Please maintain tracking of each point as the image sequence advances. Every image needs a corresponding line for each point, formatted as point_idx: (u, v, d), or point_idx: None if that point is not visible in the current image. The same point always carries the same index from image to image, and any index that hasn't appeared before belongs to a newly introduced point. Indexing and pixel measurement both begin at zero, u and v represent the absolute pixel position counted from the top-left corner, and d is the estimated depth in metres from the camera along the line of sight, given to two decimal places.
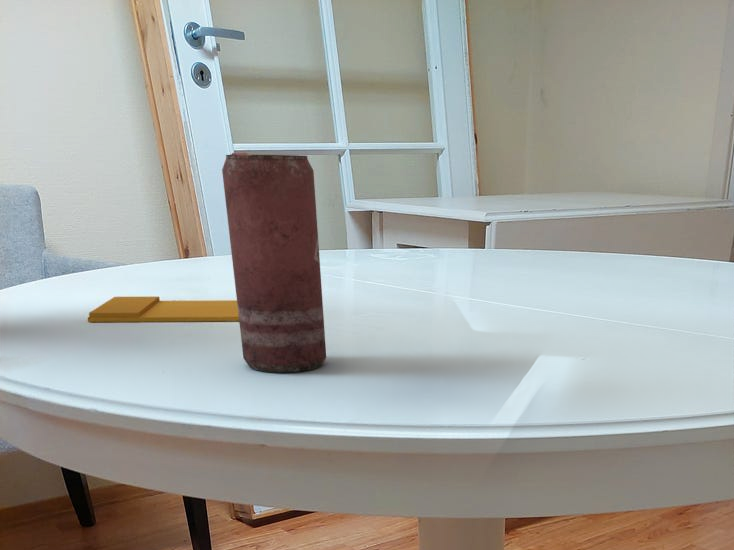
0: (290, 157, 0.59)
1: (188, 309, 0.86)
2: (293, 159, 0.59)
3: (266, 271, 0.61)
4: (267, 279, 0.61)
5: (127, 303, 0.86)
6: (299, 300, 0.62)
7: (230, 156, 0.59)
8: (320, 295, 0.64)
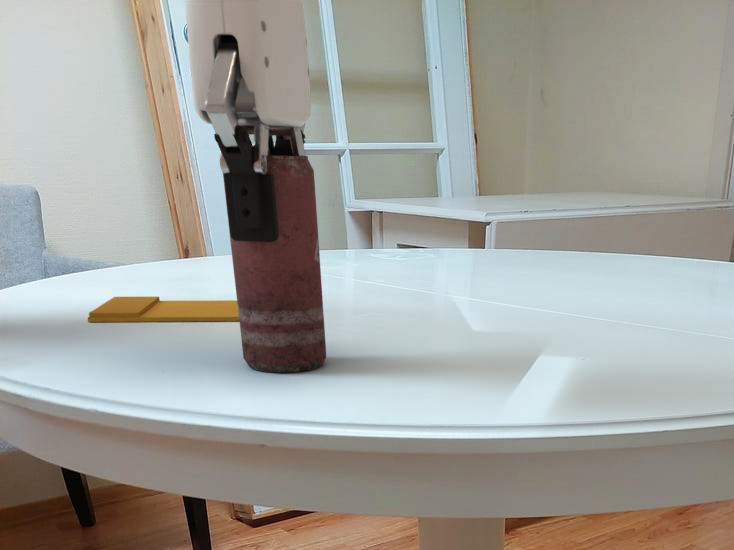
0: (290, 157, 0.59)
1: (188, 309, 0.86)
2: (294, 159, 0.59)
3: (266, 271, 0.61)
4: (267, 279, 0.61)
5: (127, 303, 0.86)
6: (299, 300, 0.62)
7: None
8: (320, 295, 0.64)
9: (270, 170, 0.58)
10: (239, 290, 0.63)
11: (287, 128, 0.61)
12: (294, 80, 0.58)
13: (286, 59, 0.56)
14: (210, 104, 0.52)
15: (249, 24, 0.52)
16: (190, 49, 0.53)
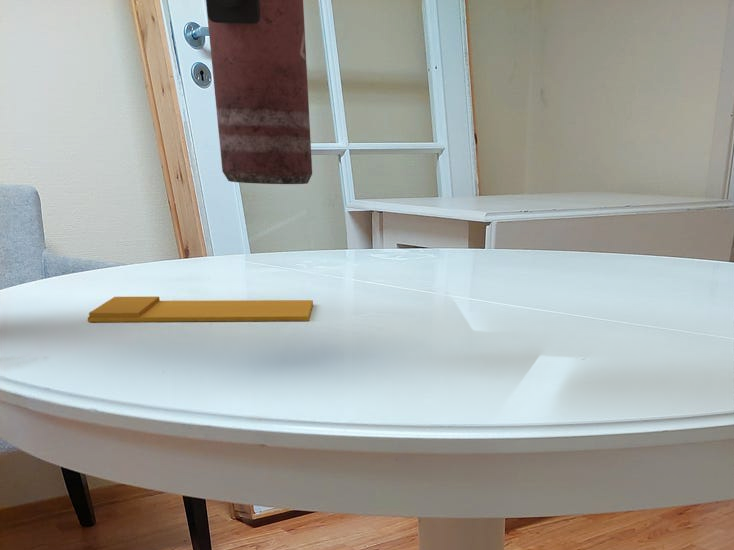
0: None
1: (188, 309, 0.86)
2: None
3: (247, 61, 0.56)
4: (247, 70, 0.56)
5: (127, 303, 0.86)
6: (282, 99, 0.57)
7: None
8: (306, 99, 0.59)
9: None
10: (218, 87, 0.58)
11: None
12: None
13: None
14: None
15: None
16: None
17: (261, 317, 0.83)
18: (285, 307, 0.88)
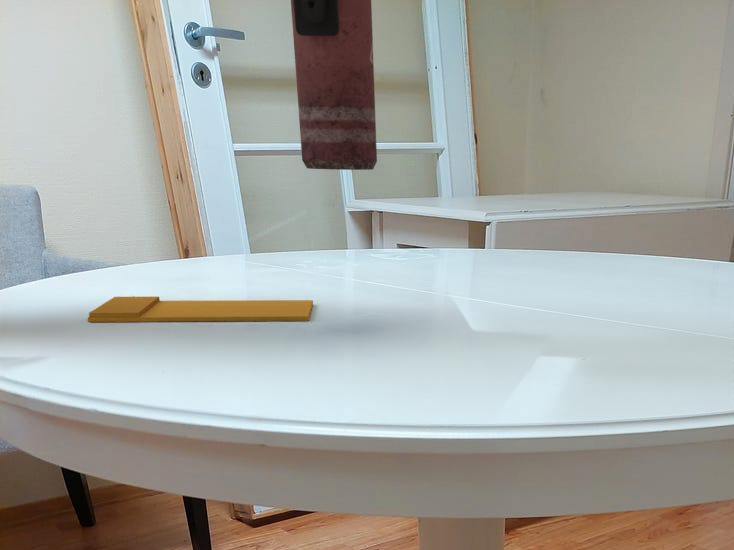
0: None
1: (188, 309, 0.86)
2: None
3: (327, 66, 0.67)
4: (327, 74, 0.67)
5: (127, 303, 0.86)
6: (355, 97, 0.69)
7: None
8: (373, 98, 0.70)
9: None
10: (301, 89, 0.69)
11: None
12: None
13: None
14: None
15: None
16: None
17: (261, 317, 0.83)
18: (285, 307, 0.88)
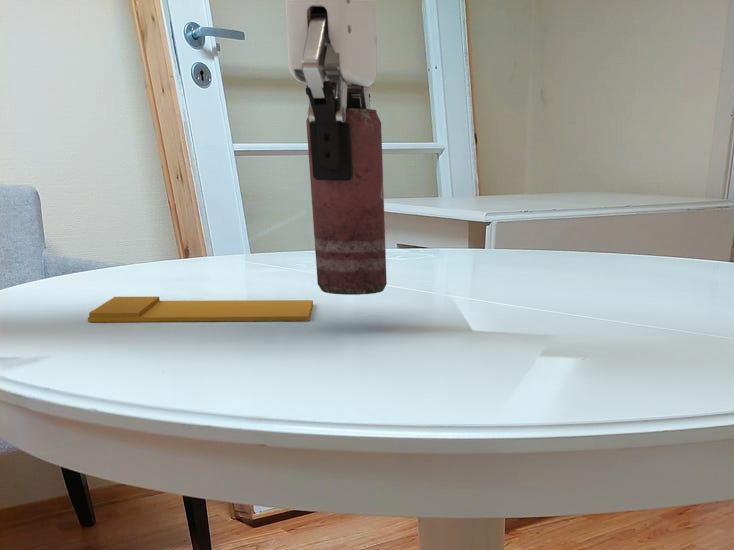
0: (364, 110, 0.71)
1: (188, 309, 0.86)
2: (366, 111, 0.71)
3: (341, 206, 0.73)
4: (342, 213, 0.73)
5: (127, 303, 0.86)
6: (367, 232, 0.75)
7: None
8: (384, 229, 0.76)
9: (348, 120, 0.70)
10: (317, 224, 0.75)
11: (358, 87, 0.74)
12: (367, 46, 0.70)
13: (362, 28, 0.68)
14: (306, 62, 0.64)
15: None
16: (287, 18, 0.66)
17: (261, 317, 0.83)
18: (285, 307, 0.88)
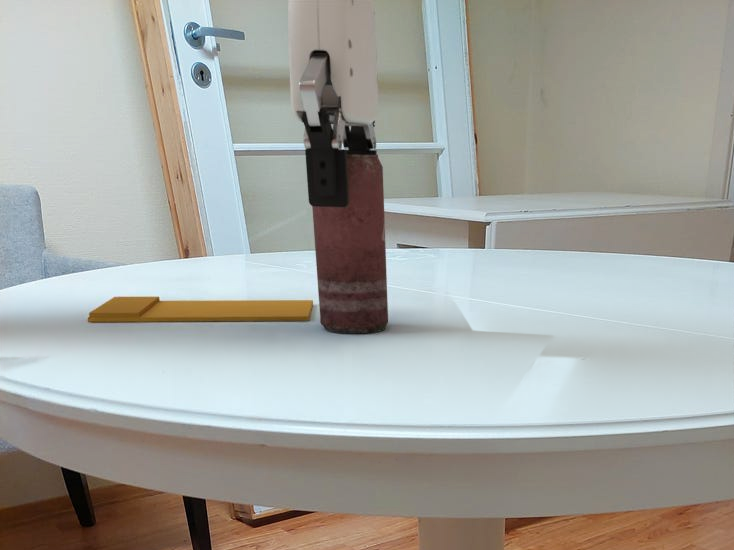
0: (366, 155, 0.72)
1: (188, 309, 0.86)
2: (368, 157, 0.72)
3: (344, 249, 0.75)
4: (344, 255, 0.75)
5: (127, 303, 0.86)
6: (369, 273, 0.76)
7: None
8: (385, 269, 0.78)
9: (350, 166, 0.72)
10: (320, 265, 0.76)
11: None
12: (368, 86, 0.72)
13: (364, 69, 0.70)
14: (303, 82, 0.64)
15: (339, 42, 0.66)
16: (290, 62, 0.67)
17: (261, 317, 0.83)
18: (285, 307, 0.88)
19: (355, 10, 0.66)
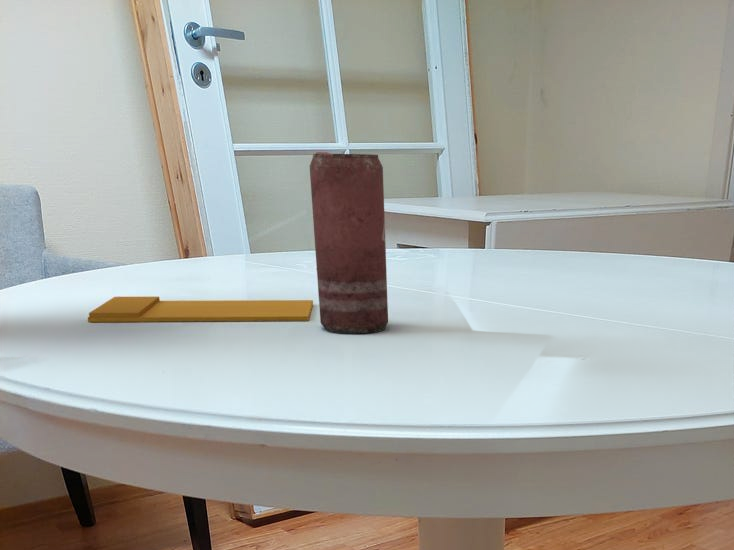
0: (366, 156, 0.72)
1: (188, 309, 0.86)
2: (368, 157, 0.72)
3: (344, 249, 0.75)
4: (344, 255, 0.75)
5: (127, 303, 0.86)
6: (369, 273, 0.76)
7: (317, 155, 0.72)
8: (385, 269, 0.78)
9: (350, 166, 0.72)
10: (320, 265, 0.76)
11: None
12: None
13: None
14: None
15: None
16: None
17: (261, 317, 0.83)
18: (285, 307, 0.88)
19: None
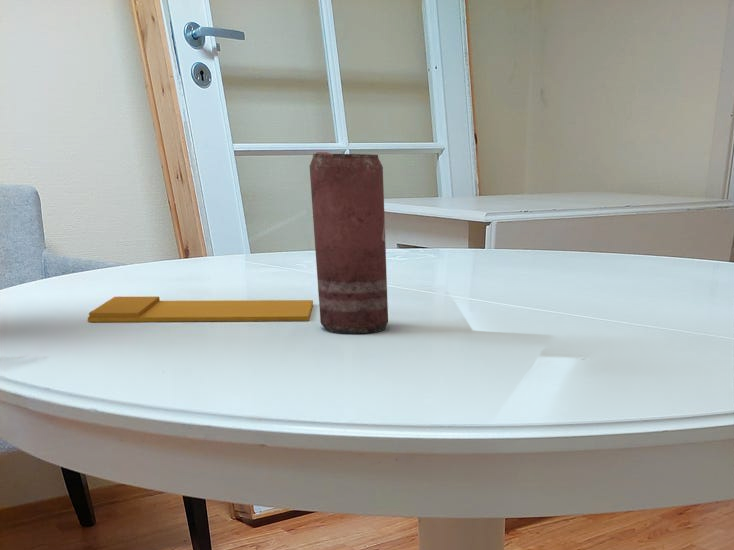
0: (366, 156, 0.72)
1: (188, 309, 0.86)
2: (368, 157, 0.72)
3: (344, 249, 0.75)
4: (344, 255, 0.75)
5: (127, 303, 0.86)
6: (369, 273, 0.76)
7: (317, 155, 0.72)
8: (385, 269, 0.78)
9: (350, 166, 0.72)
10: (320, 265, 0.76)
11: None
12: None
13: None
14: None
15: None
16: None
17: (261, 317, 0.83)
18: (285, 307, 0.88)
19: None
